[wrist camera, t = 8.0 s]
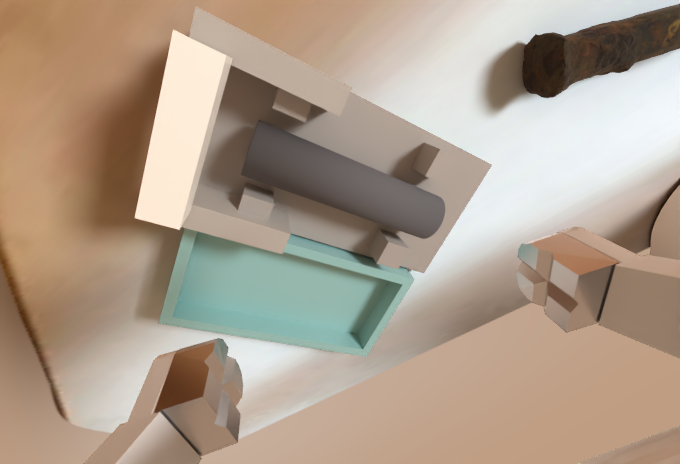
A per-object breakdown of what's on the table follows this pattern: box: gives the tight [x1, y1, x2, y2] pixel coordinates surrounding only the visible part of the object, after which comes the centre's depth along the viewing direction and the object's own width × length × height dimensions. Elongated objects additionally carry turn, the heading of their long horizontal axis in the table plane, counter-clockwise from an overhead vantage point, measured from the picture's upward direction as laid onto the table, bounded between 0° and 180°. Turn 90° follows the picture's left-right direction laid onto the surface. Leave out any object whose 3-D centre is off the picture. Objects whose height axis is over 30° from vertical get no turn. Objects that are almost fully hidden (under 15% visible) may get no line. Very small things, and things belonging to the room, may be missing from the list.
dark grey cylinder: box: [241, 120, 445, 239], centre depth 21 cm, size 14×4×4 cm, turn 65°
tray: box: [159, 228, 414, 357], centre depth 26 cm, size 19×10×3 cm, turn 65°
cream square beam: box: [135, 30, 233, 230], centre depth 14 cm, size 2×8×2 cm, turn 155°
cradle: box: [182, 7, 492, 273], centre depth 21 cm, size 22×11×5 cm, turn 65°
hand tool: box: [523, 4, 680, 98], centre depth 22 cm, size 19×4×5 cm, turn 102°
